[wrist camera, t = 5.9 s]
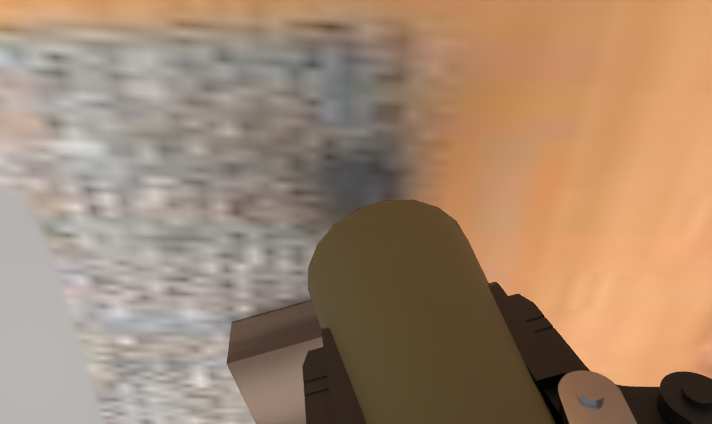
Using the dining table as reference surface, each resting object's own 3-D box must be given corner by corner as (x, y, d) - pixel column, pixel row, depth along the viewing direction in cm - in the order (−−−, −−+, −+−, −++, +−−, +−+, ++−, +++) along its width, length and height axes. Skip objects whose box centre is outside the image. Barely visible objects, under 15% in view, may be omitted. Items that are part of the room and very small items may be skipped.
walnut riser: (232, 322, 23) (226, 363, 21) (441, 264, 24) (461, 297, 21) (291, 454, 29) (293, 499, 26) (459, 403, 30) (478, 443, 27)
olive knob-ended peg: (295, 333, 16) (322, 848, 6) (324, 187, 14) (442, 676, 4) (442, 341, 18) (645, 771, 8) (493, 210, 15) (885, 608, 5)
